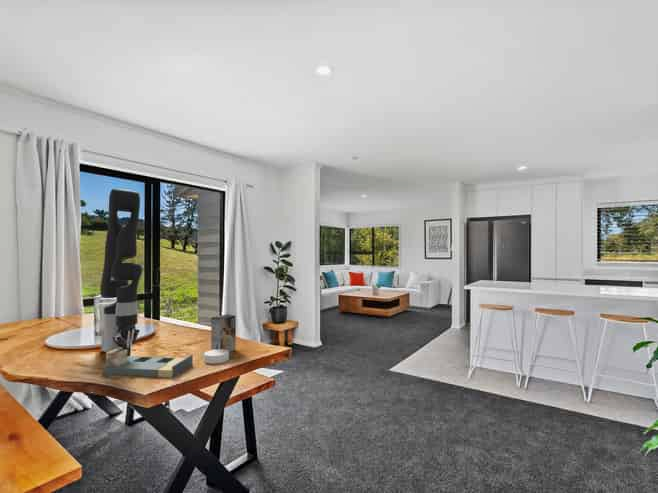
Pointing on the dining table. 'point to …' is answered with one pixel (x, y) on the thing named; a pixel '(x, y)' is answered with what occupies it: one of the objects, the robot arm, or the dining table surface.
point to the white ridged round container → (216, 356)
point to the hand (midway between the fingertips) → (126, 356)
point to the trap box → (150, 366)
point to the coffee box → (223, 332)
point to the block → (116, 357)
